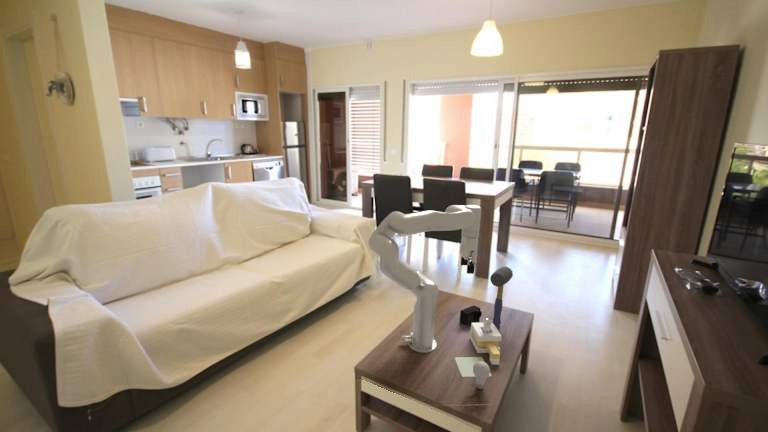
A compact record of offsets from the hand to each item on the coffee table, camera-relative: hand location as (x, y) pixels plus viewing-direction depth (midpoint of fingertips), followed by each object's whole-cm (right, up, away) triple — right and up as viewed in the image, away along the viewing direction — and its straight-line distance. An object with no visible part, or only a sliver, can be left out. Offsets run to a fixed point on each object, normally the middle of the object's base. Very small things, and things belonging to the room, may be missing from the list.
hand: (467, 269), depth 160 cm
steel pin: (+8, -35, -1) cm, 36 cm away
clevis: (+8, -36, -5) cm, 37 cm away
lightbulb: (-2, -41, -27) cm, 49 cm away
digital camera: (+6, -30, +19) cm, 36 cm away
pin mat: (-1, -38, -16) cm, 41 cm away
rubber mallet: (+19, -31, +17) cm, 40 cm away
